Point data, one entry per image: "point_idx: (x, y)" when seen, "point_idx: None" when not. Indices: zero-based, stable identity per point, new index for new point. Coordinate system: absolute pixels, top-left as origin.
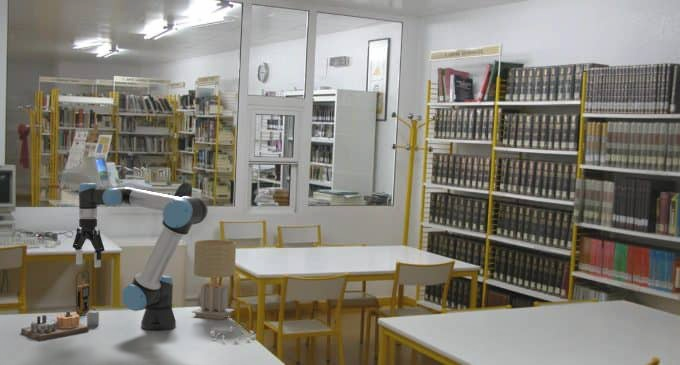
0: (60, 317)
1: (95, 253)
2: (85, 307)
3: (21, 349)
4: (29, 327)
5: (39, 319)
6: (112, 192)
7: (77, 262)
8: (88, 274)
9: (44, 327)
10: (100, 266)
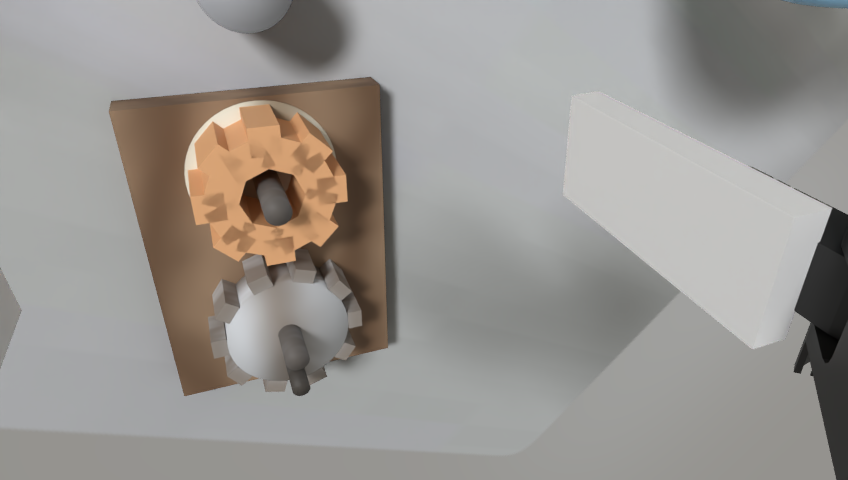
0: (286, 253)
1: (774, 329)
2: None
3: (452, 408)
4: (186, 360)
5: (306, 375)
6: None
7: (11, 332)
8: None
9: (347, 336)
10: (602, 100)
